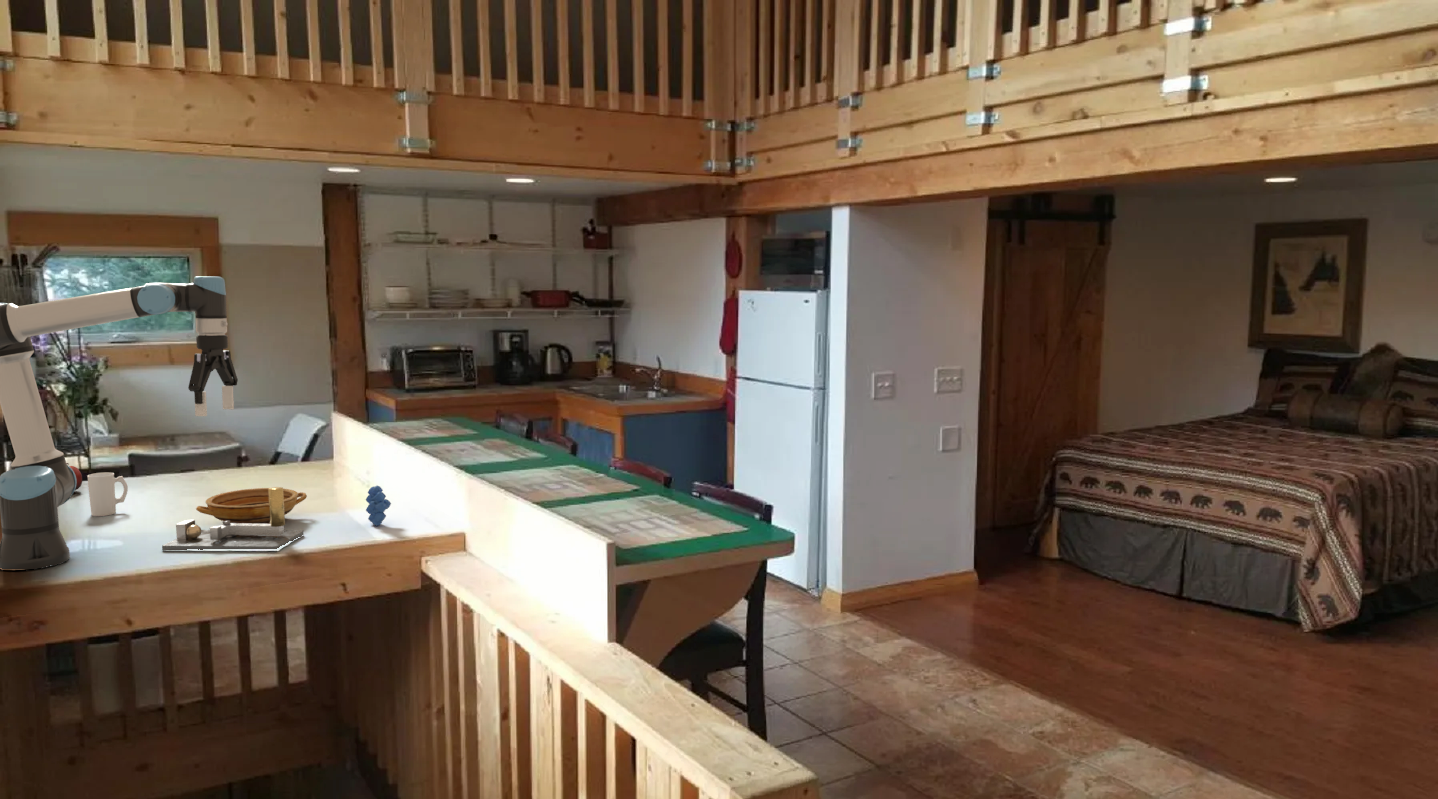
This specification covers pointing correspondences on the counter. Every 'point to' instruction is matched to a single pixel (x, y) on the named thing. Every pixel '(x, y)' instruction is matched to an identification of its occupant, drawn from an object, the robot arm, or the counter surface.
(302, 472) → the counter surface
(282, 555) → the counter surface
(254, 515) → the ceramic bowl
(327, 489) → the counter surface
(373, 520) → the grapes
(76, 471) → the fruit
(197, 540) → the base
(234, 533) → the lever
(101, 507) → the mug
